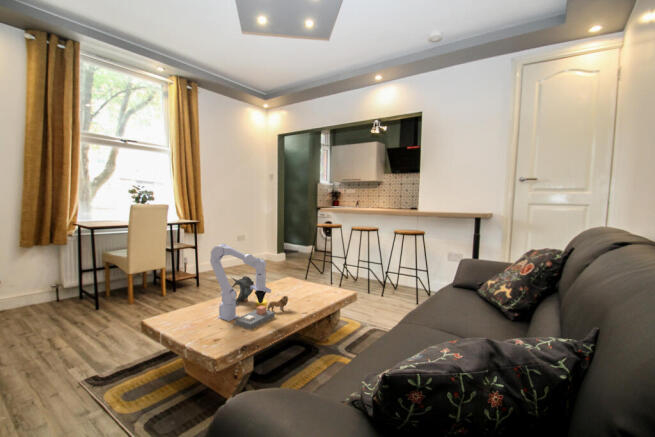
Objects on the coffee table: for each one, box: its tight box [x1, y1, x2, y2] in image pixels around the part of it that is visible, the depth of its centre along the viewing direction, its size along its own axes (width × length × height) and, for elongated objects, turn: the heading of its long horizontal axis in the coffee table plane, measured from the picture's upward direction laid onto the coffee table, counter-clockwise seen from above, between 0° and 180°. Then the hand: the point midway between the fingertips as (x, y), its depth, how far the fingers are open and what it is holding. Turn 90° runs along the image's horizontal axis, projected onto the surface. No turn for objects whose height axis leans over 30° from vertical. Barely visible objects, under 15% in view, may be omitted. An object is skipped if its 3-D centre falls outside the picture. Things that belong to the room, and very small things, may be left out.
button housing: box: [234, 309, 276, 330], centre depth 177 cm, size 12×20×3 cm, turn 150°
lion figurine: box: [267, 295, 289, 313], centre depth 192 cm, size 15×5×9 cm, turn 121°
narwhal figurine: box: [231, 275, 255, 307], centre depth 205 cm, size 14×15×18 cm
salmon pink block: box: [255, 305, 267, 315], centre depth 181 cm, size 4×4×4 cm
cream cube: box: [244, 315, 254, 321], centre depth 172 cm, size 4×4×4 cm
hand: (260, 302), depth 180 cm, fingers closed
